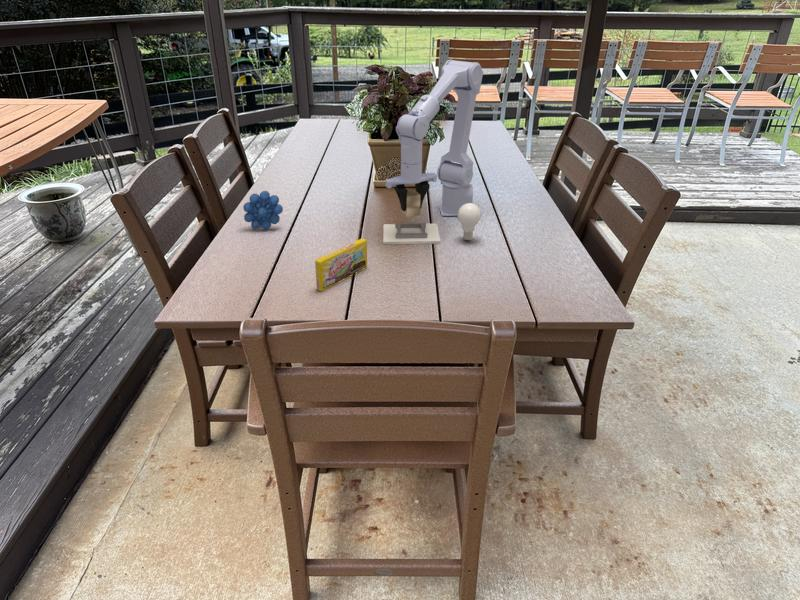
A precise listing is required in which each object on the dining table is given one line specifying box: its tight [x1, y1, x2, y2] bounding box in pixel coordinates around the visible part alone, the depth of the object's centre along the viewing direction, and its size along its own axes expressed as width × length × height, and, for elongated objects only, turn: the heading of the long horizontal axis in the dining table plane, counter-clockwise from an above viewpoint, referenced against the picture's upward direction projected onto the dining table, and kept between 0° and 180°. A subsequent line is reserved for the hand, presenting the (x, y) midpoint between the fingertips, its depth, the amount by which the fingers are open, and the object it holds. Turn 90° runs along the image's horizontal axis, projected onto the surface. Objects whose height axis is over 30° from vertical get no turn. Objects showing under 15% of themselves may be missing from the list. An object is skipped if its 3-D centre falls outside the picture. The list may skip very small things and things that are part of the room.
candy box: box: [314, 237, 368, 292], centre depth 135 cm, size 16×2×8 cm, turn 139°
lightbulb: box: [457, 202, 482, 242], centre depth 152 cm, size 6×6×11 cm
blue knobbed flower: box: [243, 190, 284, 231], centre depth 160 cm, size 12×7×12 cm, turn 91°
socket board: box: [382, 222, 441, 245], centre depth 158 cm, size 16×12×2 cm
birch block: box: [401, 189, 421, 218], centre depth 153 cm, size 4×4×6 cm
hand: (411, 208), depth 154 cm, fingers closed on birch block, 4 cm apart
